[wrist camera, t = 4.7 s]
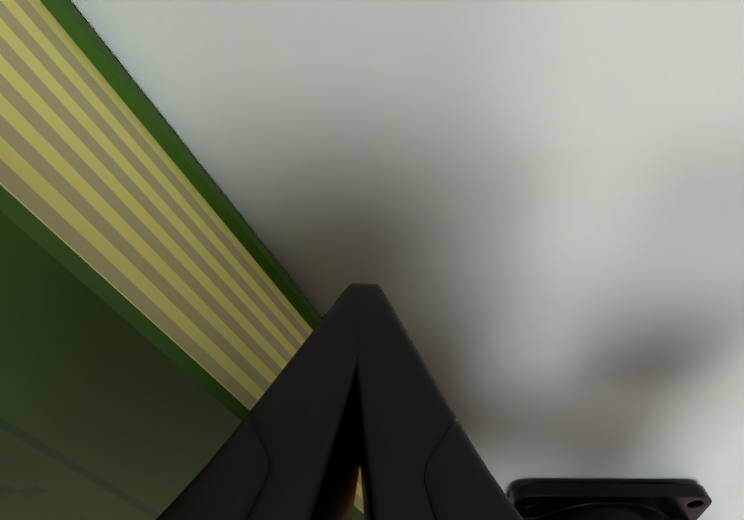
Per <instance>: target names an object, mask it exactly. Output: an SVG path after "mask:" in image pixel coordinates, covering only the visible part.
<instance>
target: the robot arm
mask: <svg viewBox="0 0 744 520" xmlns="http://www.w3.org/2000/svg"><path fill="white" fill-rule="evenodd" d="M359 468H360V471H361V484H362V496H363V509H364V520H697V519H698V518H699V516H700V515H701V514H702V513H703V512H704V511H705V510H706V509H707V508H708V506H709V505H710V504H711V502H712V501H711V499H710V497H709V495H708V494H707V492H706V491H705V489H704V488H703V486H701V485H697V484H522V485H518V486H516V487H514V488H513V489H512V490H511V492H510V495H509V498H508V497H507V496H506V494H505V493H504V492H503V490H502V489H501V487H500V486H499V485H498V483H497V482H496V480H495V479H494V477H493V476H492V475H491V473H490V471H489V470H488V468H487V467H486V465H485V464H484V462H483V460H482V459H481V457H480V456H479V454H478V452H477V451H476V449H475V448H474V446H473V444H472V443H471V441H470V439H469V438H468V436H467V434H466V432H465V431H464V429H463V427H462V426H461V424H460V422H459V421H456V416H455V414H454V412H453V411H452V409H451V407H450V405H449V404H448V402H447V400H446V399H445V397H444V395H443V393H442V392H441V390H440V388H439V386H438V385H437V383H436V381H435V380H434V378H433V376H432V374H431V373H430V371H429V369H428V368H427V366H426V364H425V362H424V361H423V359H422V357H421V356H420V354H419V352H418V350H417V349H416V347H415V345H414V344H413V342H412V340H411V338H410V337H409V335H408V333H407V331H406V330H405V328H404V326H403V325H402V323H401V321H400V319H399V318H398V316H397V314H396V313H395V311H394V309H393V307H392V306H391V304H390V302H389V301H388V299H387V297H386V295H385V294H384V292H383V290H382V289H381V287H380V286H379V285H378V284H363V283H352V284H350V285H349V286H348V287H347V288H346V289H345V291H344V292H343V293H342V294H341V296H340V297H339V298H338V300H337V301H336V302H335V303H334V305H333V306H332V307H331V308H330V310H329V311H328V312H327V314H326V315H325V316H324V317H323V319H322V320H321V321H320V323H319V324H318V325H317V326H316V328H315V329H314V330H313V331H312V333H311V334H310V335H309V337H308V338H307V339H306V340H305V342H304V343H303V344H302V345H301V347H300V348H299V349H298V351H297V352H296V353H295V354H294V356H293V357H292V358H291V359H290V361H289V362H288V363H287V365H286V366H285V367H284V368H283V370H282V371H281V372H280V374H279V375H278V376H277V377H276V379H275V380H274V381H273V382H272V384H271V385H270V386H269V388H268V389H267V390H266V391H265V393H264V394H263V395H262V396H261V398H260V399H259V400H258V402H257V403H256V404H255V405H254V407H253V408H252V409H251V411H250V412H249V416H246V417H245V418H244V419H243V420H242V422H241V423H240V424H239V425H238V427H237V428H236V429H235V431H234V432H233V433H232V435H231V436H230V437H229V438H228V439H227V441H226V442H225V443H224V444H223V445H222V447H221V448H220V449H219V450H218V451H217V453H216V454H215V455H214V456H213V458H212V459H211V460H210V461H209V462H208V464H207V465H206V466H205V467H204V468H203V469H202V470H201V471H200V473H199V474H198V475H197V476H196V477H195V478H194V479H193V480H192V481H191V482H190V483H189V485H188V486H187V487H186V488H185V489H184V490H183V491H182V492H181V493H180V494H179V495H178V496H177V498H176V499H175V500H174V501H173V502H172V503H171V504H170V505H169V506H168V507H167V508H166V509H165V510H164V511H163V512H162V513H161V514H160V516H159V517H158V518H157V519H156V520H352V514H353V507H354V501H355V494H356V488H357V481H358V475H359Z"/></svg>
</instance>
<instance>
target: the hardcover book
mask: <svg viewBox="0 0 744 520" xmlns="http://www.w3.org/2000/svg"><path fill="white" fill-rule="evenodd" d="M321 320H322V318H321V317H320V315H319V314H318V313H317V312H316V310H315V309H314V308H313V307H312V305H311V304H310V303H309V302H308V300H307V299H306V298H305V297H304V295H303V294H302V293H301V291H300V290H299V289H298V288H297V286H296V285H295V284H294V283H293V281H292V280H291V279H290V278H289V276H288V275H287V274H286V273H285V271H284V270H283V269H282V268H281V266H280V265H279V264H278V262H277V261H276V260H275V259H274V257H273V256H272V255H271V254H270V252H269V251H268V250H267V249H266V247H265V246H264V245H263V244H262V242H261V241H260V240H259V239H258V237H257V236H256V235H255V234H254V232H253V231H252V230H251V228H250V227H249V226H248V225H247V223H246V222H245V221H244V220H243V218H242V217H241V216H240V215H239V213H238V212H237V211H236V210H235V208H234V207H233V206H232V205H231V203H230V202H229V201H228V199H227V198H226V197H225V196H224V194H223V193H222V192H221V191H220V189H219V188H218V187H217V186H216V184H215V183H214V182H213V181H212V179H211V178H210V177H209V176H208V174H207V173H206V172H205V171H204V169H203V168H202V167H201V165H200V164H199V163H198V162H197V160H196V159H195V158H194V157H193V155H192V154H191V153H190V152H189V150H188V149H187V148H186V147H185V145H184V144H183V143H182V142H181V140H180V139H179V138H178V137H177V135H176V134H175V133H174V131H173V130H172V129H171V128H170V126H169V125H168V124H167V123H166V121H165V120H164V119H163V118H162V116H161V115H160V114H159V113H158V111H157V110H156V109H155V108H154V106H153V105H152V104H151V102H150V101H149V100H148V99H147V97H146V96H145V95H144V94H143V92H142V91H141V90H140V89H139V87H138V86H137V85H136V84H135V82H134V81H133V80H132V79H131V77H130V76H129V75H128V74H127V72H126V71H125V70H124V68H123V67H122V66H121V65H120V63H119V62H118V61H117V60H116V58H115V57H114V56H113V55H112V53H111V52H110V51H109V50H108V48H107V47H106V46H105V45H104V43H103V42H102V41H101V39H100V38H99V37H98V36H97V34H96V33H95V32H94V31H93V29H92V28H91V27H90V26H89V24H88V23H87V22H86V21H85V19H84V18H83V17H82V16H81V14H80V13H79V12H78V11H77V9H76V8H75V7H74V5H73V4H72V3H71V2H70V0H0V520H156V519H157V518H158V517H159V516H160V514H161V513H162V512H163V511H164V510H165V509H166V508H167V507H168V506H169V505H170V504H171V503H172V502H173V501H174V500H175V499H176V498H177V496H178V495H179V494H180V493H181V492H182V491H183V490H184V489H185V488H186V487H187V486H188V485H189V483H190V482H191V481H192V480H193V479H194V478H195V477H196V476H197V475H198V474H199V473H200V471H201V470H202V469H203V468H204V467H205V466H206V465H207V464H208V462H209V461H210V460H211V459H212V458H213V456H214V455H215V454H216V453H217V451H218V450H219V449H220V448H221V447H222V445H223V444H224V443H225V442H226V441H227V439H228V438H229V437H230V436H231V435H232V433H233V432H234V431H235V429H236V428H237V427H238V425H239V424H240V423H241V422H242V420H243V419H244V418H245V417H246V416H249V412H250V411H251V409H252V408H253V407H254V405H255V404H256V403H257V402H258V400H259V399H260V398H261V396H262V395H263V394H264V393H265V391H266V390H267V389H268V388H269V386H270V385H271V384H272V382H273V381H274V380H275V379H276V377H277V376H278V375H279V374H280V372H281V371H282V370H283V368H284V367H285V366H286V365H287V363H288V362H289V361H290V359H291V358H292V357H293V356H294V354H295V353H296V352H297V351H298V349H299V348H300V347H301V345H302V344H303V343H304V342H305V340H306V339H307V338H308V337H309V335H310V334H311V333H312V331H313V330H314V329H315V328H316V326H317V325H318V324H319V323H320V321H321ZM352 520H364V509H363V496H362V484H361V471H360V468H359V475H358V481H357V488H356V494H355V501H354V507H353V514H352Z"/></svg>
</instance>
